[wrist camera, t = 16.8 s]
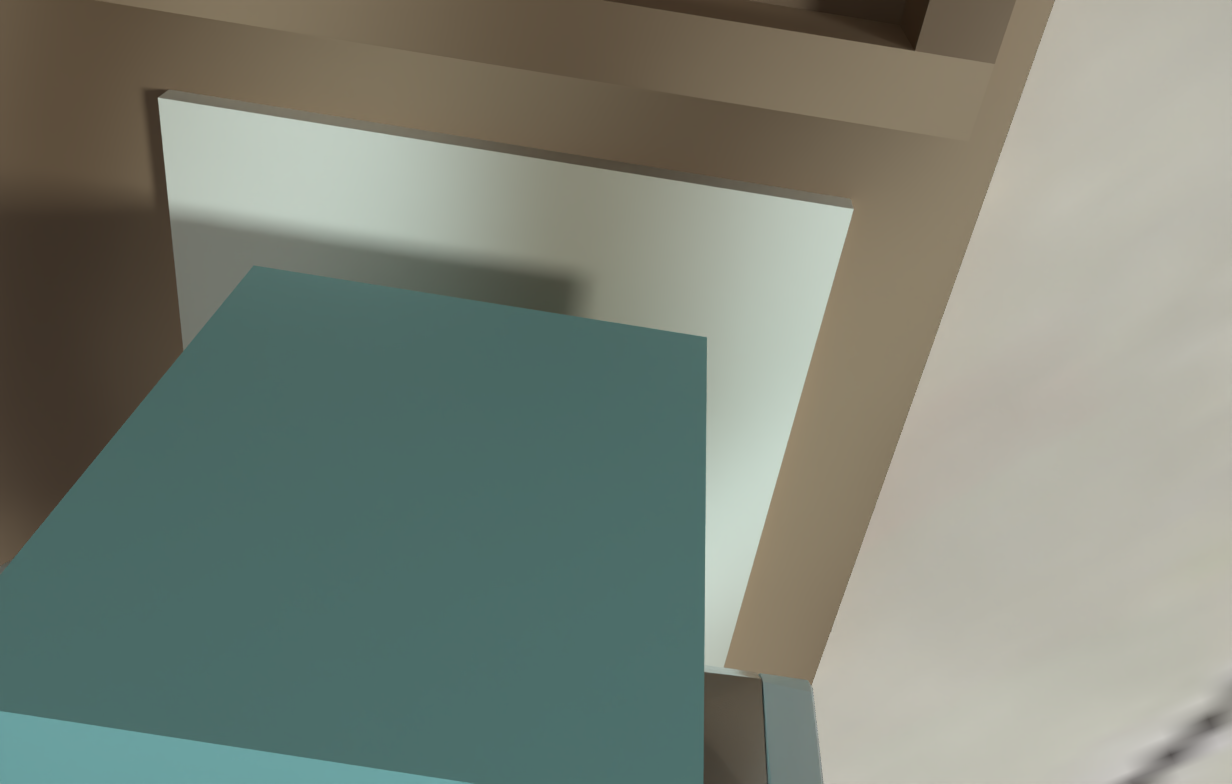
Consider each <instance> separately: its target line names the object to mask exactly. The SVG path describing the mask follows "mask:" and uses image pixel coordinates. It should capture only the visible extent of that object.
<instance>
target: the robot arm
mask: <svg viewBox="0 0 1232 784" xmlns="http://www.w3.org/2000/svg"><path fill="white" fill-rule="evenodd" d="M12 560H13V559H12ZM12 560H10V561H8V562H7V563H5V564H3V565H1V566H0V574H1V573H2V572H3V571H4V570H5V568H6V567H7V566H8V565H9V563H10V562H11V561H12ZM703 784H824V783H823V775H822V766H821V757H820V748H819V739H818V730H817V721H816V712H815V703H814V695H813V688H812V686H811V685H810V683H809V681H808V680H804V679H797V678H790V677H783V676H776V675H769V674H763V673H760V674H757V673H756V672H751V671H744V670H737V669H730V668H723V667H716V666H709V665H704V770H703Z"/></svg>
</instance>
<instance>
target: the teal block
mask: <svg viewBox="0 0 1232 784" xmlns="http://www.w3.org/2000/svg"><path fill="white" fill-rule="evenodd" d="M706 404H707V337H703V336H696V335H690V334H684V333H677V332H671V331H665V330H659V329H652V328H646V327H640V326H633V325H627V324H621V323H614V322H608V321H602V320H595V319H589V318H583V317H576V316H570V315H564V314H557V313H551V312H545V311H538V310H532V309H526V308H520V307H513V306H507V305H501V304H494V303H488V302H482V301H475V300H469V299H463V298H456V297H450V296H444V295H437V294H431V293H425V292H418V291H412V290H406V289H400V288H393V287H387V286H381V285H374V284H368V283H362V282H355V281H349V280H343V279H336V278H330V277H324V276H317V275H311V274H305V273H298V272H292V271H286V270H280V269H273V268H267V267H261V266H253V267H252V268H251V269H250V270H249V272H248V273H247V274H246V275H245V276H244V278H243V279H242V280H241V281H240V283H239V284H238V285H237V286H236V287H235V289H234V290H233V291H232V292H231V294H230V295H229V296H228V297H227V298H226V300H225V301H224V302H223V303H222V305H221V306H220V307H219V308H218V309H217V311H216V312H215V313H214V314H213V316H212V317H211V318H210V319H209V320H208V322H207V323H206V324H205V325H204V327H203V328H202V329H201V330H200V331H199V333H198V334H197V335H196V336H195V338H194V339H193V340H192V341H191V342H190V344H189V345H188V346H187V347H186V349H185V350H184V351H183V352H182V353H181V355H180V356H179V357H178V358H177V360H176V361H175V362H174V363H173V364H172V366H171V367H170V368H169V369H168V371H167V372H166V373H165V374H164V375H163V377H162V378H161V379H160V380H159V381H158V383H157V384H156V385H155V386H154V388H153V389H152V390H151V391H150V392H149V394H148V395H147V396H146V397H145V399H144V400H143V401H142V402H141V403H140V405H139V406H138V407H137V408H136V410H135V411H134V412H133V413H132V414H131V416H130V417H129V418H128V419H127V421H126V422H125V423H124V424H123V425H122V427H121V428H120V429H119V430H118V432H117V433H116V434H115V435H114V436H113V438H112V439H111V440H110V441H109V443H108V444H107V445H106V446H105V447H104V449H103V450H102V451H101V452H100V454H99V455H98V456H97V457H96V458H95V460H94V461H93V462H92V463H91V465H90V466H89V467H88V468H87V469H86V471H85V472H84V473H83V474H82V476H81V477H80V478H79V479H78V480H77V482H76V483H75V484H74V485H73V486H72V488H71V489H70V490H69V491H68V493H67V494H66V495H65V496H64V497H63V499H62V500H61V501H60V502H59V504H58V505H57V506H56V507H55V508H54V510H53V511H52V512H51V513H50V515H49V516H48V517H47V518H46V519H45V521H44V522H43V523H42V524H41V526H40V527H39V528H38V529H37V530H36V532H35V533H34V534H33V535H32V537H31V538H30V539H29V540H28V541H27V543H26V544H25V545H24V546H23V548H22V549H21V550H20V551H19V552H18V554H17V555H16V556H15V557H14V559H13V560H12V561H11V562H10V563H9V565H8V566H7V567H6V568H5V570H4V571H3V572H2V573H1V574H0V784H703V770H704V648H705V526H706Z"/></svg>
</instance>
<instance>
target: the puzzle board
mask: <svg viewBox="0 0 1232 784" xmlns="http://www.w3.org/2000/svg"><path fill="white" fill-rule="evenodd" d="M1054 1H1055V0H0V566H1V565H3V564H5V563H7V562H8V561H10V560H12V559H14V557H15V556H16V555H17V554H18V552H19V551H20V550H21V549H22V548H23V546H24V545H25V544H26V543H27V541H28V540H29V539H30V538H31V537H32V535H33V534H34V533H35V532H36V530H37V529H38V528H39V527H40V526H41V524H42V523H43V522H44V521H45V519H46V518H47V517H48V516H49V515H50V513H51V512H52V511H53V510H54V508H55V507H56V506H57V505H58V504H59V502H60V501H61V500H62V499H63V497H64V496H65V495H66V494H67V493H68V491H69V490H70V489H71V488H72V486H73V485H74V484H75V483H76V482H77V480H78V479H79V478H80V477H81V476H82V474H83V473H84V472H85V471H86V469H87V468H88V467H89V466H90V465H91V463H92V462H93V461H94V460H95V458H96V457H97V456H98V455H99V454H100V452H101V451H102V450H103V449H104V447H105V446H106V445H107V444H108V443H109V441H110V440H111V439H112V438H113V436H114V435H115V434H116V433H117V432H118V430H119V429H120V428H121V427H122V425H123V424H124V423H125V422H126V421H127V419H128V418H129V417H130V416H131V414H132V413H133V412H134V411H135V410H136V408H137V407H138V406H139V405H140V403H141V402H142V401H143V400H144V399H145V397H146V396H147V395H148V394H149V392H150V391H151V390H152V389H153V388H154V386H155V385H156V384H157V383H158V381H159V380H160V379H161V378H162V377H163V375H164V374H165V373H166V372H167V371H168V369H169V368H170V367H171V366H172V364H173V363H174V362H175V361H176V360H177V358H178V357H179V356H180V355H181V353H182V352H183V351H184V350H185V349H186V347H187V346H188V345H189V344H190V342H191V341H192V340H193V339H194V338H195V336H196V335H197V334H198V333H199V331H200V330H201V329H202V328H203V327H204V325H205V324H206V323H207V322H208V320H209V319H210V318H211V317H212V316H213V314H214V313H215V312H216V311H217V309H218V308H219V307H220V306H221V305H222V303H223V302H224V301H225V300H226V298H227V297H228V296H229V295H230V294H231V292H232V291H233V290H234V289H235V287H236V286H237V285H238V284H239V283H240V281H241V280H242V279H243V278H244V276H245V275H246V274H247V273H248V272H249V270H250V269H251V268H252V267H253V266H261V267H267V268H273V269H280V270H286V271H292V272H298V273H305V274H311V275H317V276H324V277H330V278H336V279H343V280H349V281H355V282H362V283H368V284H374V285H381V286H387V287H393V288H400V289H406V290H412V291H418V292H425V293H431V294H437V295H444V296H450V297H456V298H463V299H469V300H475V301H482V302H488V303H494V304H501V305H507V306H513V307H520V308H526V309H532V310H538V311H545V312H551V313H557V314H564V315H570V316H576V317H583V318H589V319H595V320H602V321H608V322H614V323H621V324H627V325H633V326H640V327H646V328H652V329H659V330H665V331H671V332H677V333H684V334H690V335H696V336H703V337H707V404H706V526H705V648H704V665H709V666H716V667H723V668H730V669H737V670H744V671H751V672H756V673H757V674H760V673H763V674H769V675H776V676H783V677H790V678H797V679H804V680H808V681H809V683H810V685H812V682H813V679H814V677H815V674H816V671H817V668H818V665H819V663H820V660H821V657H822V654H823V651H824V649H825V646H826V643H827V640H828V637H829V634H830V632H831V629H832V626H833V623H834V620H835V618H836V615H837V612H838V609H839V606H840V604H841V601H842V598H843V595H844V592H845V589H846V587H847V584H848V581H849V578H850V575H851V573H852V570H853V567H854V564H855V561H856V558H857V556H858V553H859V550H860V547H861V544H862V542H863V539H864V536H865V533H866V530H867V528H868V525H869V522H870V519H871V516H872V513H873V511H874V508H875V505H876V502H877V499H878V497H879V494H880V491H881V488H882V485H883V483H884V480H885V477H886V474H887V471H888V468H889V466H890V463H891V460H892V457H893V454H894V452H895V449H896V446H897V443H898V440H899V438H900V435H901V432H902V429H903V426H904V423H905V421H906V418H907V415H908V412H909V409H910V407H911V404H912V401H913V398H914V395H915V392H916V390H917V387H918V384H919V381H920V378H921V376H922V373H923V370H924V367H925V364H926V362H927V359H928V356H929V353H930V350H931V347H932V345H933V342H934V339H935V336H936V333H937V331H938V328H939V325H940V322H941V319H942V317H943V314H944V311H945V308H946V305H947V302H948V300H949V297H950V294H951V291H952V288H953V286H954V283H955V280H956V277H957V274H958V272H959V269H960V266H961V263H962V260H963V257H964V255H965V252H966V249H967V246H968V243H969V241H970V238H971V235H972V232H973V229H974V227H975V224H976V221H977V218H978V215H979V212H980V210H981V207H982V204H983V201H984V198H985V196H986V193H987V190H988V187H989V184H990V181H991V179H992V176H993V173H994V170H995V167H996V165H997V162H998V159H999V156H1000V153H1001V151H1002V148H1003V145H1004V142H1005V139H1006V136H1007V134H1008V131H1009V128H1010V125H1011V122H1012V120H1013V117H1014V114H1015V111H1016V108H1017V106H1018V103H1019V100H1020V97H1021V94H1022V91H1023V89H1024V86H1025V83H1026V80H1027V77H1028V75H1029V72H1030V69H1031V66H1032V63H1033V61H1034V58H1035V55H1036V52H1037V49H1038V46H1039V44H1040V41H1041V38H1042V35H1043V32H1044V30H1045V27H1046V24H1047V21H1048V18H1049V16H1050V13H1051V10H1052V7H1053V4H1054Z"/></svg>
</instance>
